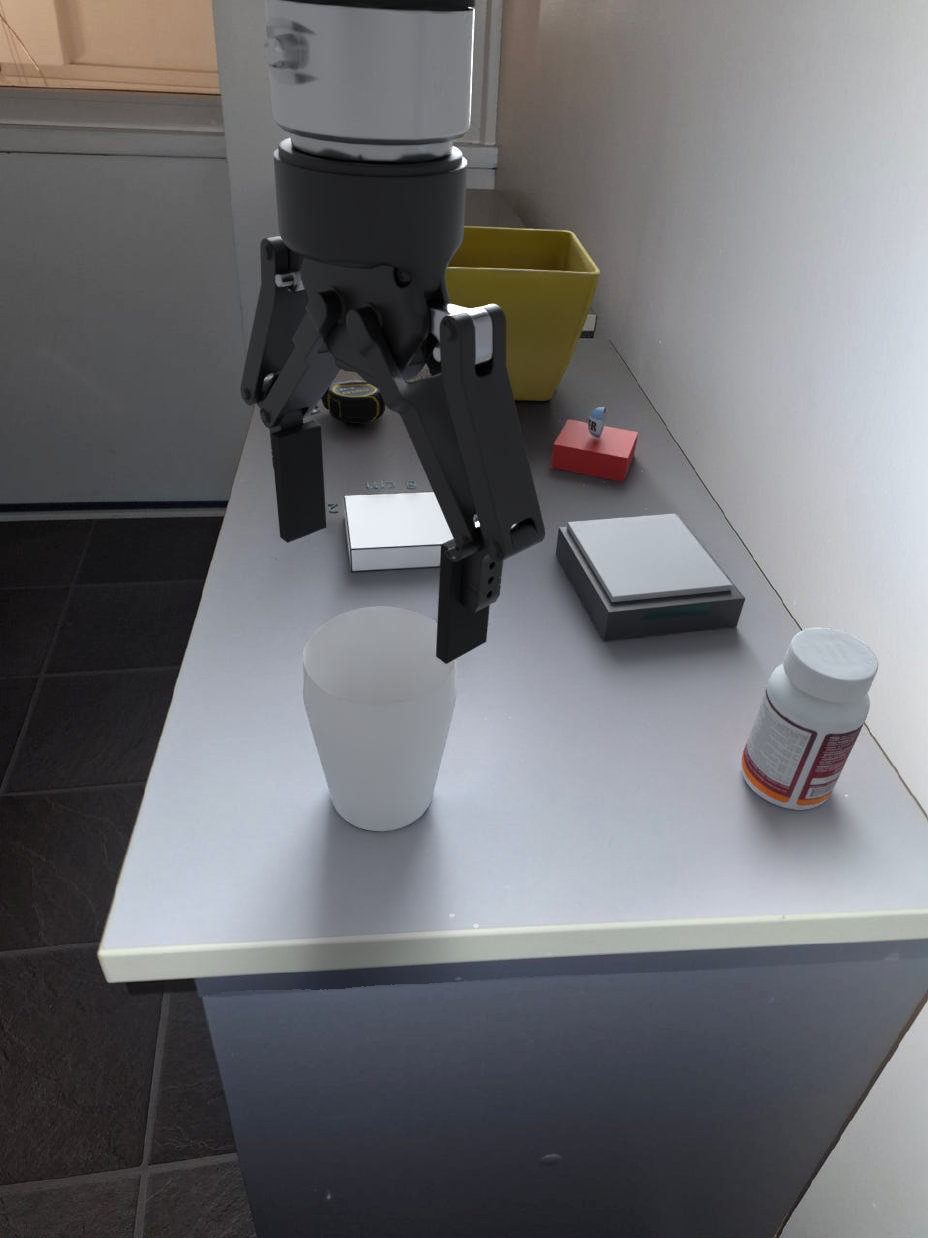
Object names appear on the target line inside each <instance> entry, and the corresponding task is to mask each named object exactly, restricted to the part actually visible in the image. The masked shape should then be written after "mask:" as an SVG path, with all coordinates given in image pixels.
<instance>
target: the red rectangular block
mask: <svg viewBox="0 0 928 1238" xmlns="http://www.w3.org/2000/svg"><path fill="white" fill-rule="evenodd" d="M606 420H607V407H605V406H599V407H596V408H594V409H593V410H592V411H591V412H590V414H589V416H588V420H587V422H584V421H579V420H575V419H574V420H573V419H567V420H566V422H565V424H564V426H563V428H562V429H561V431H560V432H559V434H558V436H557V438H556V439H555V441H554V443H553V447H552V457H551V464H550V468H551V469H557V470H561V471H566V472H572V473H577V474H582V475H586V476H592V477H597V478H603V479H605V480H610V481H611V480H612V481H616V482H620V483H621V482H622V483H624V481H625V478H626V477H627V473H628V471H629V469H630V466H631V464H632V461H633V459H634V456H635V452H636V447H637V441H638V437H639V432H638V431H634V430H628V429H622V428H618V427H612V426H607V425H606V424H605V423H606Z"/></svg>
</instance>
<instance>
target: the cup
mask: <svg viewBox="0 0 928 1238" xmlns="http://www.w3.org/2000/svg"><path fill="white" fill-rule="evenodd" d="M436 643H437V621H435V620H434V619H432V618H430V617H429V616H427V615H425V614H423V613H420V612H417V611H415V610H411V609H407V608H402V607H397V606H382V605H381V606H380V605H379V606H378V605H377V606H366V607H360V608H354V609H350V610H347V611H344V612H341V613H339V614H336V615H333V616H332V617H331V618H329V619H327V620H325V621H324V622H323V623H321V624H319V626H318V627H317V628H315V629H314V630H313V631H312V633H311V634H310V635H309V637H308V639H307V640H306V642H305V645H304V647H303V652H302V653H303V654H302V662H303V663H302V666H303V667H302V669H303V687H302V699H303V704H304V709H305V712H306V716H307V719H308V723H309V726H310V730H311V733H312V737H313V741H314V744H315V747H316V751H317V754H318V757H319V761H320V765H321V767H322V771H323V775H324V778H325V781H326V785H327V788H328V792H329V796H330V798H331V802H332V805H333V807H334V809H335V811H336V812H337V814H338V815H339V816H340V817H341V818H342V819H343V820H345V821H346V822H348V823H349V824H351V825H353V826H354V827H357V828H359V829H363V830H367V831H371V832H372V831H373V832H387V831H388V832H389V831H394V830H397V829H402V828H404V827H406V826H408V825H410V824H412V823H414V822H416V821H417V820H419V818H421V817H422V816H423V815H424V814H425V812H426V811H427V810H428V808H429V807H430V805H431V802H432V800H433V795H434V793H435V787H436V784H437V779H438V776H439V773H440V768H441V765H442V764H441V763H442V760H443V756H444V753H445V752H444V751H445V748H446V743H447V739H448V736H449V731H450V727H451V723H452V719H453V715H454V710H455V708H456V703H457V694H458V683H457V658H456V659H455V660H453V661H451V662H449V663H447V664H445V663H444V662H443V661H441V660H440V659H439V658H437V657H436Z"/></svg>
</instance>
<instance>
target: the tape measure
mask: <svg viewBox="0 0 928 1238" xmlns="http://www.w3.org/2000/svg"><path fill="white" fill-rule="evenodd" d="M320 401H321V402H322V405H323V407H324V408H325V409H326V410H328V411H329V414H330V416H331V417H332V418H333V419H335V420H336V421H340V422H342V423H350V424H361V423H362V424H364V423H369V422H372V421H375V420H378V419H379V418H381V417H383V415H384V413H385V410H386V404H385V403H384V400H383V398H382V396H381V393H380V391H379V389H378V388H376V387H374V386H373V385H371V384H369V383H367V382H366V381H365V380H364V379H353V380H344V381H338V382H332V383H331V384H330V386H329V387H328V389H327V390H326V392H325V393H324V395H323V396H322V398H321V399H320Z"/></svg>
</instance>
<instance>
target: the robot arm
mask: <svg viewBox="0 0 928 1238" xmlns="http://www.w3.org/2000/svg"><path fill="white" fill-rule="evenodd" d="M474 7H476V0H264V13H265V14H264V15H265V31H266V39H265V42H264V44H263V49H264V55H265V56H264V57H265V60H266V61H267V63H268V76H269V91H270V92H269V93H270V108H271V119H272V120H273V122H274V123H275V124H276V125H277V126H278V127H279V128H280V129H281V130H283V131H284V132H286V133H289V137H288V138H284V139H282V140H281V141H280V142H279V143H278V144H277V148H276V149H275V150H273V152H272V155H273V169H274V180H275V181H274V183H275V194H276V197H275V198H276V210H277V220H278V221H277V224H278V233H279V235H278V236H269V237H265V238H262V239H261V242H260V245H259V249H260V251H259V252H260V254H259V255H260V288H259V292H258V293H259V294H258V299H257V304H256V308H255V313H254V317H253V323H252V327H251V332H250V339H249V343H248V348H247V353H246V357H245V363H244V367H243V372H242V377H241V382H240V396H241V398H242V400H243V401H244V403H245V404H246V405H247V406H252V405H257V407H258V408H259V415H260V419H261V422H262V423H263V425H264V426H265V427H266V428H267V429H268V430H269V438H270V439H269V440H270V447H271V449H270V450H271V459H272V460H271V461H272V468H273V474H274V485H275V496H276V507H277V518H278V528H279V538H280V539H282V540H283V541H284V542H286V543H287V544H289V543H291V542H294V541H296V540H299V539H301V538H304V537H306V536H308V535H311V534H314V533H316V532H319V531H321V530H324V529H326V528H327V513H326V512H327V511H326V494H325V474H324V455H323V454H324V453H323V435H322V434H323V433H322V424H320V423H318V422H316V421H315V420H310V421H307V422H304V419H305V418H309V417H312V416H315V415H319V414H320V413H321V410H317V409H319V405H318V404H319V402H320V401H321V398H322V396H323V395H324V393H325V392H326V390H327V389H328V387H329V386H330V384H331V383H333V382H334V380H335V378H336V377H337V376H338V374H339V372H340V371H341V370H343V371H345V372H350V373H351V372H352V373H356V374H357V375H358V376H359V377H360V378H361V379H362V380H365V381H366V382H367V383H369V384H371V385H373V386H374V387H376V388H378V389H379V391H380V393H381V396H382V398H383V400H384V403H385V407H387V409H389V410H390V411H391V412H394V413H397V414H398V415H399V416H400V418H401V420H402V422H403V425H404V427H405V429H406V432H407V434H408V436H409V439H410V441H411V443H412V445H413V448H414V450H415V453H416V455H417V458H418V459H419V462H420V464H421V467H422V469H423V472H424V473H425V476H426V478H427V480H428V482H429V485H430V487H431V489H432V492H434V494H435V496H436V499H437V501H438V503H439V506H440V508H441V510H442V513H443V515H444V517H445V520H446V522H447V524H448V527H449V529H450V531H451V534H452V536H453V538H454V539H452V540H449V541H447V542H445V543H443V544H441V555H440V567H439V579H438V580H439V581H438V601H437V621H436V622H437V643H436V657H437V658H439V659H440V660H441V661H443V662H444V663H445V664H447V663H449V662H451V661H453V660H455V659H456V660H457V659H459V658H461V657H462V656H463V655H465V654H467V653H469V652H470V651H472V650H475V649H476V648H478V647H480V646H481V645H483V644H486V643H487V639H488V629H489V628H488V626H489V616H490V606H491V605H493V604H494V603H496V602H497V601H498V599H499V598H500V596H501V588H502V587H501V584H502V576H503V569H504V568H503V567H504V561H505V560H508V559H509V558H511V557H513V556H515V555H518V554H519V553H521V552H523V551H526V550H528V549H529V548H532V547H533V546H536V545H538V544H540V543H542V542H543V541H544V540H545V538H546V528H545V523H544V520H543V516H542V511H541V506H540V503H539V502H540V501H539V499H538V494H537V490H536V486H535V485H536V484H535V482H534V478H533V477H534V476H533V473H532V469H531V464H530V460H529V456H528V453H527V447H526V443H525V440H524V436H523V432H522V427H521V423H520V419H519V415H518V409H517V406H516V402H515V401H516V400H514V397H513V393H512V388H511V384H510V380H509V376H508V372H507V367H506V317H505V314H504V312H503V310H502V309H501V307H500V306H498V305H496V304H491V305H487V306H483V307H479V308H475V309H468V308H464V307H459V306H455V305H451V302H450V298H449V295H448V291H447V285H446V270H447V267H448V264H449V262H450V261H451V259H452V257H453V256H454V254H455V253H456V252H457V251H458V249H459V248H460V246H461V244H462V242H463V237H464V226H465V218H466V217H465V216H466V198H467V197H466V196H467V178H468V177H467V176H468V160H467V159H466V158H465V157H464V156H463V152H462V151H461V149H459V148H458V147H456V146H454V141H455V140H457V139H460V138H463V137H464V136H465V135H466V134H467V133H468V131H470V128H471V115H472V113H471V111H472V88H473V87H472V85H473V84H472V83H473V61H474V60H473V58H474V33H475V11H476V10H475V8H474ZM425 365H426V367H427V368H428V372H429V373H430V376H428V377H424V378H421V379H418V380H414V381H412V382H411V381H408V380H411V379H413V378H415V377H417V376H418V375H419V374H420V373H421V372H422V370H423V368H424V367H425ZM271 374H272V375H271ZM476 513H477V515H475V514H476ZM475 516H476V517H478V520H477V521H476V522H475V520H474V519H475Z"/></svg>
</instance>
